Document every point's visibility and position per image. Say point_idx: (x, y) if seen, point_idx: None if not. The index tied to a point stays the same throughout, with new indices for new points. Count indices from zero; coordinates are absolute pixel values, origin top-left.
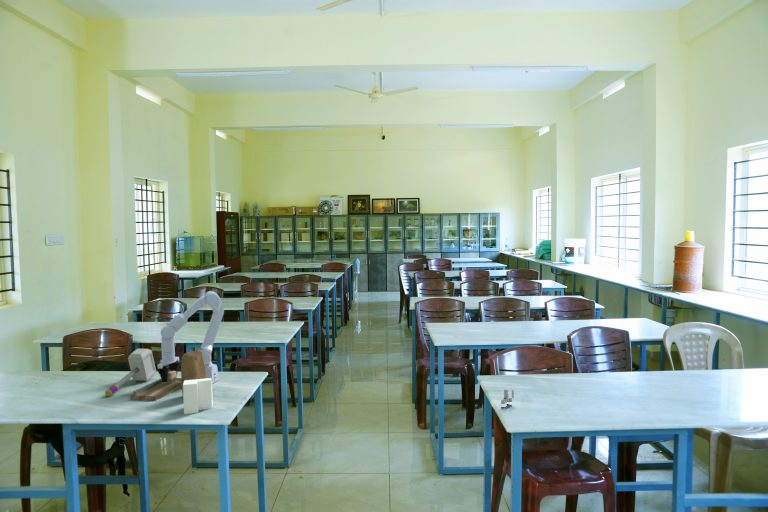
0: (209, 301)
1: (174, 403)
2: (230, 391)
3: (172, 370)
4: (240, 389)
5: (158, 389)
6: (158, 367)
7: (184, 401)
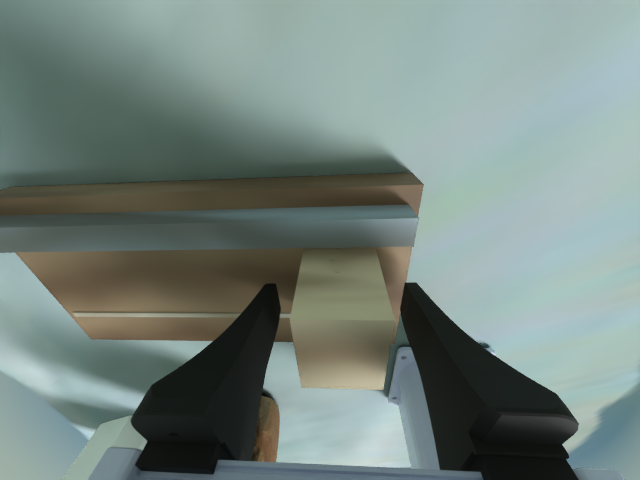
0: None
1: (142, 381)
2: (317, 447)
3: (427, 345)
4: (342, 456)
5: (178, 298)
6: (101, 473)
7: (67, 475)
